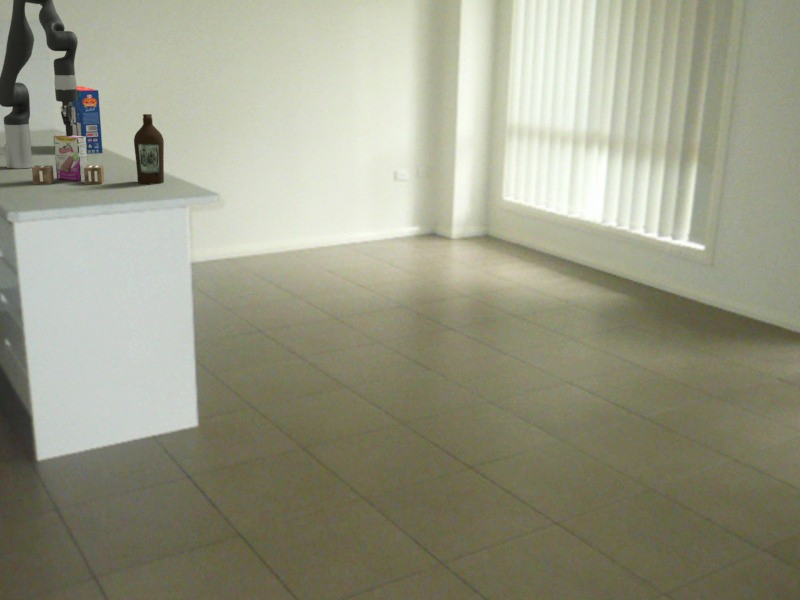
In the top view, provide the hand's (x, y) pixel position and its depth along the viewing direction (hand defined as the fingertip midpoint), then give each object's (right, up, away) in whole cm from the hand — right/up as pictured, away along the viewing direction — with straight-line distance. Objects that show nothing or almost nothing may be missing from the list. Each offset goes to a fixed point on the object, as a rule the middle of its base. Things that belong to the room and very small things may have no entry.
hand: (69, 135), depth 338 cm
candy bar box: (0, -16, +5) cm, 17 cm away
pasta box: (-24, +9, +87) cm, 90 cm away
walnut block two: (+9, -18, -1) cm, 20 cm away
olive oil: (+29, -17, +3) cm, 34 cm away
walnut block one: (-8, -18, -3) cm, 20 cm away
